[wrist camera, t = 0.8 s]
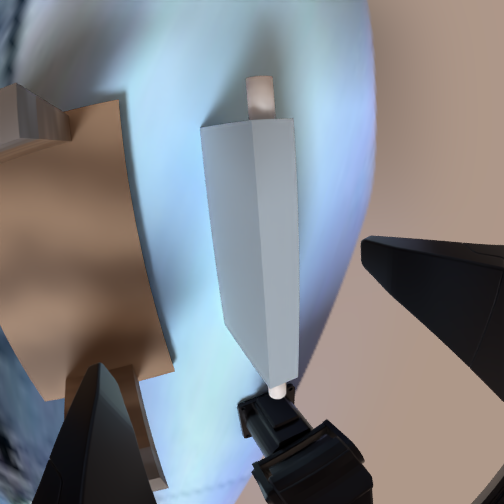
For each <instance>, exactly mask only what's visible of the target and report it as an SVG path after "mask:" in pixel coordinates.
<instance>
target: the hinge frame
mask: <svg viewBox="0 0 504 504" xmlns="http://www.w3.org/2000/svg"><path fill="white" fill-rule="evenodd" d="M0 325H1V327H2V329H3V331H4V333H5V335H6V337H7V339H8V341H9V343H10V345H11V347H12V348H13V350H14V352H15V354H16V356H17V357H18V359H19V361H20V363H21V364H22V366H23V368H24V369H25V371H26V373H27V374H28V376H29V378H30V379H31V381H32V382H33V384H34V385H35V387H36V388H37V390H38V391H39V393H40V394H41V396H42V397H43V399H44V400H45V401H50V400H56V399H61V398H65V410H64V420H65V417H66V415H67V413H68V410H69V408H70V406H71V403H72V401H73V399H74V397H75V394H76V392H77V390H78V388H79V386H80V384H81V381H82V379H83V377H84V375H85V373H86V371H87V369H88V367H89V366H91V365H93V364H96V363H98V362H101V363H102V364H104V366H105V367H106V368H107V370H108V371H109V372H110V373H111V375H112V376H113V377H114V379H115V380H116V382H117V384H118V386H119V389H120V392H121V395H122V398H123V401H124V404H125V407H126V410H127V412H128V415H129V418H130V421H131V423H132V426H133V429H134V432H135V436H136V440H137V443H138V447H139V451H140V454H141V458H142V461H143V464H144V468H145V471H146V474H147V477H148V480H149V483H150V486H151V489H152V492H154V491H158V490H162V489H166V488H168V485H167V482H166V479H165V476H164V473H163V470H162V467H161V464H160V461H159V458H158V455H157V451H156V448H155V445H154V441H153V438H152V434H151V431H150V427H149V423H148V419H147V416H146V412H145V408H144V404H143V399H142V395H141V391H140V386H139V382H138V381H141V380H145V379H149V378H152V377H156V376H160V375H163V374H167V373H170V372H174V371H175V370H174V367H173V364H172V361H171V358H170V355H169V352H168V348H167V345H166V342H165V339H164V335H163V332H162V329H161V325H160V322H159V318H158V315H157V311H156V307H155V304H154V300H153V296H152V292H151V288H150V284H149V280H148V276H147V272H146V268H145V264H144V259H143V255H142V250H141V246H140V241H139V236H138V232H137V227H136V222H135V216H134V211H133V206H132V200H131V194H130V188H129V182H128V176H127V169H126V162H125V155H124V147H123V139H122V130H121V121H120V110H119V100H113V101H108V102H103V103H98V104H94V105H89V106H85V107H81V108H77V109H73V110H69V111H65V112H62V111H61V110H59V109H58V108H56V107H55V106H53V105H51V104H50V103H48V102H47V101H45V100H43V99H42V98H40V97H39V96H37V95H35V94H34V93H32V92H30V91H29V90H27V89H26V88H24V87H22V86H21V85H19V84H18V83H14V84H12V85H9V86H6V87H4V88H1V89H0Z"/></svg>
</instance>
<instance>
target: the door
mask: <svg viewBox="0 0 504 504" xmlns="http://www.w3.org/2000/svg"><path fill="white" fill-rule="evenodd" d="M246 90H247V103H248V115H249V120H248V121H240V122H233V123H226V124H220V125H214V126H208V127H202V128H200V135H201V145H202V155H203V164H204V173H205V182H206V191H207V199H208V208H209V216H210V224H211V232H212V240H213V247H214V255H215V262H216V269H217V276H218V283H219V290H220V297H221V303H222V310H223V317H224V323H225V326H226V327H227V328H228V330H229V331H230V333H231V334H232V336H233V337H234V339H235V340H236V342H237V343H238V345H239V346H240V347H241V349H242V350H243V352H244V353H245V355H246V356H247V357H248V359H249V360H250V362H251V363H252V365H253V366H254V367H255V369H256V370H257V372H258V373H259V374H260V376H261V377H262V379H263V380H264V381H265V383H266V384H267V385H268V389H269V396H270V397H271V398H273V399H281V398H283V397H284V396H285V395H286V382H288V381H290V380H293V379H295V378H297V377H298V360H299V231H298V198H297V174H296V153H295V136H294V120H293V118H285V119H276V114H275V101H274V89H273V77H272V76H253V77H248V78H246Z"/></svg>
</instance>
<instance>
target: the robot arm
mask: <svg viewBox="0 0 504 504" xmlns="http://www.w3.org/2000/svg"><path fill="white" fill-rule="evenodd" d="M361 261H362V264H363V266H364V268H365V269H366V270H367V271H368V272H369V273H370V274H371V275H372V276H373V277H374V278H375V279H376V280H377V281H378V282H379V283H380V284H381V285H382V286H383V287H384V289H385V290H386V291H387V292H388V293H389V294H390V295H392V296H393V297H394V298H395V299H396V300H397V301H398V302H399V303H400V304H401V305H403V306H404V307H405V308H406V309H407V310H408V311H409V312H410V313H412V314H413V315H414V316H415V317H416V318H417V319H418V320H419V321H420V322H422V323H423V324H424V325H425V326H426V327H427V328H428V329H429V330H430V331H431V332H433V333H434V334H435V335H436V336H437V337H438V338H439V339H440V340H441V341H442V342H443V343H444V344H445V345H446V346H448V347H449V348H450V349H451V350H452V351H453V352H454V353H455V354H456V355H457V356H458V357H459V358H460V359H461V360H462V361H463V362H464V363H465V364H466V365H467V366H468V367H470V369H471V370H472V371H473V372H474V373H475V374H476V375H477V376H478V377H479V378H480V379H481V380H482V381H483V382H484V383H485V384H486V385H487V386H488V387H489V388H490V389H491V390H492V391H493V392H494V393H495V394H496V395H497V396H498V397H499V398H500V399H501V400H502V401H503V402H504V245H485V244H472V243H460V242H449V241H437V240H423V239H412V238H398V237H397V238H396V237H383V236H369V237H367V238H365V239H363V240H362V241H361ZM294 398H295V387H294V385H293V384H288V385H286V395H285V396H284V397H283V398H281V399H273V398H271V397H270V396H269V393H267V394H264V395H262V396H259V397H257V398H254V399H252V400H249V401H246V402H244V403H241V404H239V405H238V407H237V409H238V414H239V420H240V425H241V430H242V435H243V436H244V438H249V437H253V439H254V440H255V442H256V443H257V445H258V447H259V448H260V450H261V451H262V453H263V455H264V456H265V458H264V459H262V460H260V461H258V462H257V461H256V462H254V463H253V464H252V465H253V467H254V470H253V471H252V472H251V473H252V474H253V476H254V478H255V479H256V481H257V483H258V485H259V487H260V489H261V491H262V493H263V496H264V498H265V500H266V502H267V503H268V504H373V498H372V488H373V482H372V476H371V475H370V473H369V472H368V471H367V470H366V469H365V467H364V466H363V465H362V463H364V458H363V456H362V454H361V453H360V451H359V450H358V448H357V447H356V446H355V445H354V444H353V442H352V441H351V440H349V438H347V437H346V436H345V435H344V434H343V433H342V432H341V431H339V430H338V429H337V428H336V427H335V426H334V425H333V424H332V423H331V422H329V421H328V420H325V421H324V422H323V423H322V424H320V425H319V426H317V427H316V428H314V429H313V427H312V426H311V425H310V424H309V423H308V422H307V420H306V419H305V418H304V417H303V415H302V414H301V413H300V412H299V410H298V409H297V408H296V407H295V405H294ZM32 504H157V503H156V500H155V498H154V495H153V492H152V489H151V486H150V483H149V480H148V477H147V474H146V471H145V468H144V464H143V461H142V458H141V454H140V451H139V447H138V443H137V440H136V436H135V432H134V429H133V426H132V423H131V421H130V418H129V415H128V412H127V410H126V407H125V404H124V401H123V398H122V395H121V392H120V389H119V386H118V384H117V382H116V380H115V379H114V377H113V376H112V375H111V373H110V372H109V371H108V370H107V368H106V367H105V366H104V364H102V363H101V362H98V363H96V364H93V365H91V366H89V367H88V369H87V371H86V373H85V375H84V377H83V379H82V381H81V384H80V386H79V388H78V390H77V392H76V394H75V397H74V399H73V401H72V403H71V406H70V408H69V410H68V413H67V415H66V417H65V420H64V422H63V424H62V427H61V429H60V432H59V434H58V437H57V439H56V442H55V444H54V447H53V449H52V452H51V455H50V460H48V463H47V465H46V468H45V471H44V474H43V476H42V479H41V482H40V484H39V487H38V489H37V492H36V494H35V496H34V499H33V501H32ZM472 504H504V465H503V466H502V467H501V469H500V470H499V471H498V473H497V474H496V475H495V476H494V478H493V479H492V480H491V482H490V483H489V484H488V485H487V486H486V488H485V489H484V490H483V491H482V492H481V494H480V495H479V496H478V497H477V498H476V499H475V500H474V501H473V502H472Z"/></svg>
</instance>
